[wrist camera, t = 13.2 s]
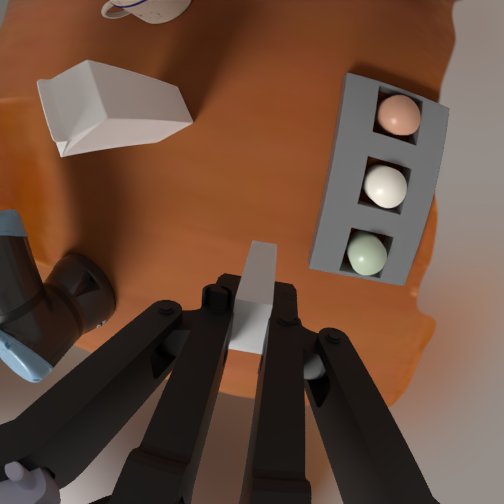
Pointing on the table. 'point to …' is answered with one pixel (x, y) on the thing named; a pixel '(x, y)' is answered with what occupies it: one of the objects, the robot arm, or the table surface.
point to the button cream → (384, 185)
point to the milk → (109, 108)
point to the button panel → (352, 172)
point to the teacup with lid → (147, 9)
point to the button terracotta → (397, 115)
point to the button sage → (366, 252)
